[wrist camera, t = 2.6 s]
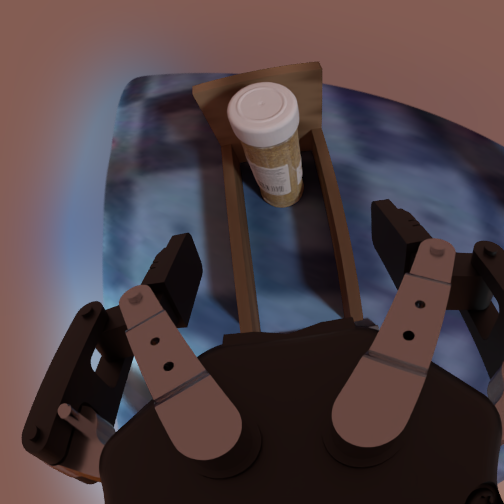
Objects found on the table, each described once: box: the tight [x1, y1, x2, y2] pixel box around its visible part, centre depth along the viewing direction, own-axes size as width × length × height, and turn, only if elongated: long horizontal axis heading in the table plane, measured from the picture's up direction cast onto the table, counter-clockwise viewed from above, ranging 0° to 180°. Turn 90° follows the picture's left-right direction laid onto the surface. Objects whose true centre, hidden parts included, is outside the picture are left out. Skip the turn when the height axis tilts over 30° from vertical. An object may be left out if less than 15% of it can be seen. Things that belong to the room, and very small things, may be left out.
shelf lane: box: [193, 62, 363, 333], centre depth 22 cm, size 10×19×12 cm, turn 8°
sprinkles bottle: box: [227, 82, 304, 208], centre depth 22 cm, size 5×5×14 cm
